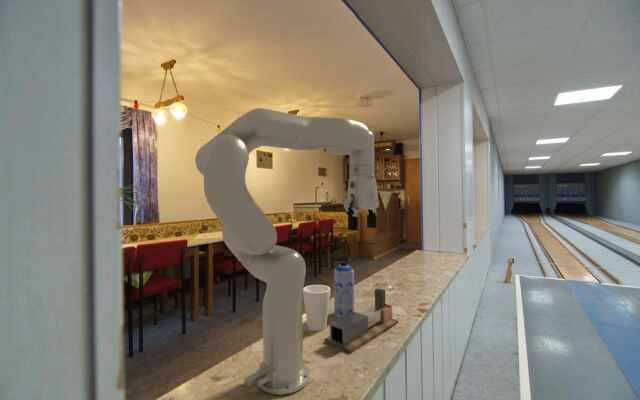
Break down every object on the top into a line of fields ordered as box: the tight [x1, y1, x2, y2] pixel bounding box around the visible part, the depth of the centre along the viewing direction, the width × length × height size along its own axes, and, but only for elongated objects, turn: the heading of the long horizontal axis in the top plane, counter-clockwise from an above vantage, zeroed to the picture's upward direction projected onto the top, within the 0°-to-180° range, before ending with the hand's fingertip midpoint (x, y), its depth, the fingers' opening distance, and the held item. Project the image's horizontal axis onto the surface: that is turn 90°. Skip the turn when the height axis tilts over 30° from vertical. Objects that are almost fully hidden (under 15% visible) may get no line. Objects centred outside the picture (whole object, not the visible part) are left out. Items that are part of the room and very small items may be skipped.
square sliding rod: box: [360, 287, 388, 328], centre depth 97 cm, size 16×4×10 cm, turn 136°
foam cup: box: [302, 284, 331, 332], centre depth 98 cm, size 10×9×13 cm
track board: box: [323, 318, 399, 354], centre depth 94 cm, size 27×10×1 cm, turn 136°
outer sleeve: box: [329, 311, 368, 347], centre depth 88 cm, size 12×5×5 cm, turn 136°
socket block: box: [370, 302, 393, 323], centre depth 102 cm, size 5×5×5 cm
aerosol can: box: [333, 260, 355, 319], centre depth 108 cm, size 8×8×20 cm
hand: (362, 228), depth 87 cm, fingers open, 9 cm apart
